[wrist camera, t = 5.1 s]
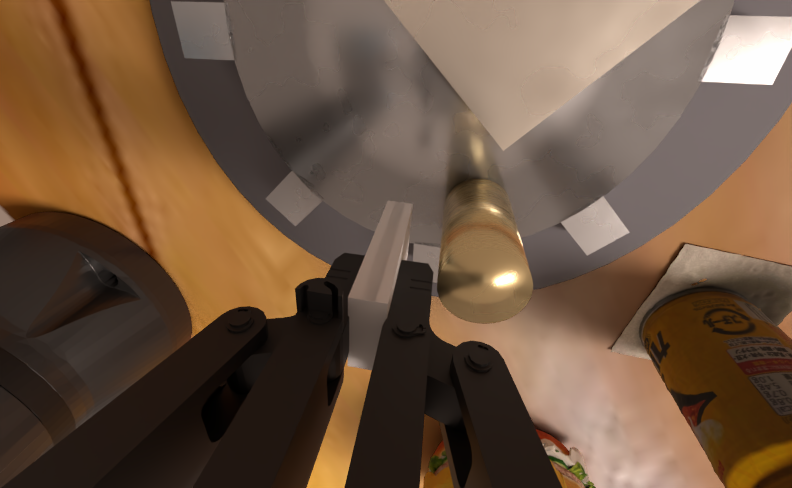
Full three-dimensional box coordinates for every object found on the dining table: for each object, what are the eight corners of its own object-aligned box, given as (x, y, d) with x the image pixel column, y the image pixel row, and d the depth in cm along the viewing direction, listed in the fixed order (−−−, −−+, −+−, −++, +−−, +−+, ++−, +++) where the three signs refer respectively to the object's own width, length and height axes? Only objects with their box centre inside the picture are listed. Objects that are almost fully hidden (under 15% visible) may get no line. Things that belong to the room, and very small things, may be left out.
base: (218, 253, 25) (185, 283, 22) (41, -572, 10) (-132, -820, 7) (645, 320, 22) (673, 364, 19) (1219, -657, 8) (1702, -1095, 5)
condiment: (609, 349, 24) (721, 587, 14) (684, 241, 19) (933, 475, 9) (721, 374, 23) (922, 639, 13) (822, 271, 19) (1242, 549, 9)
